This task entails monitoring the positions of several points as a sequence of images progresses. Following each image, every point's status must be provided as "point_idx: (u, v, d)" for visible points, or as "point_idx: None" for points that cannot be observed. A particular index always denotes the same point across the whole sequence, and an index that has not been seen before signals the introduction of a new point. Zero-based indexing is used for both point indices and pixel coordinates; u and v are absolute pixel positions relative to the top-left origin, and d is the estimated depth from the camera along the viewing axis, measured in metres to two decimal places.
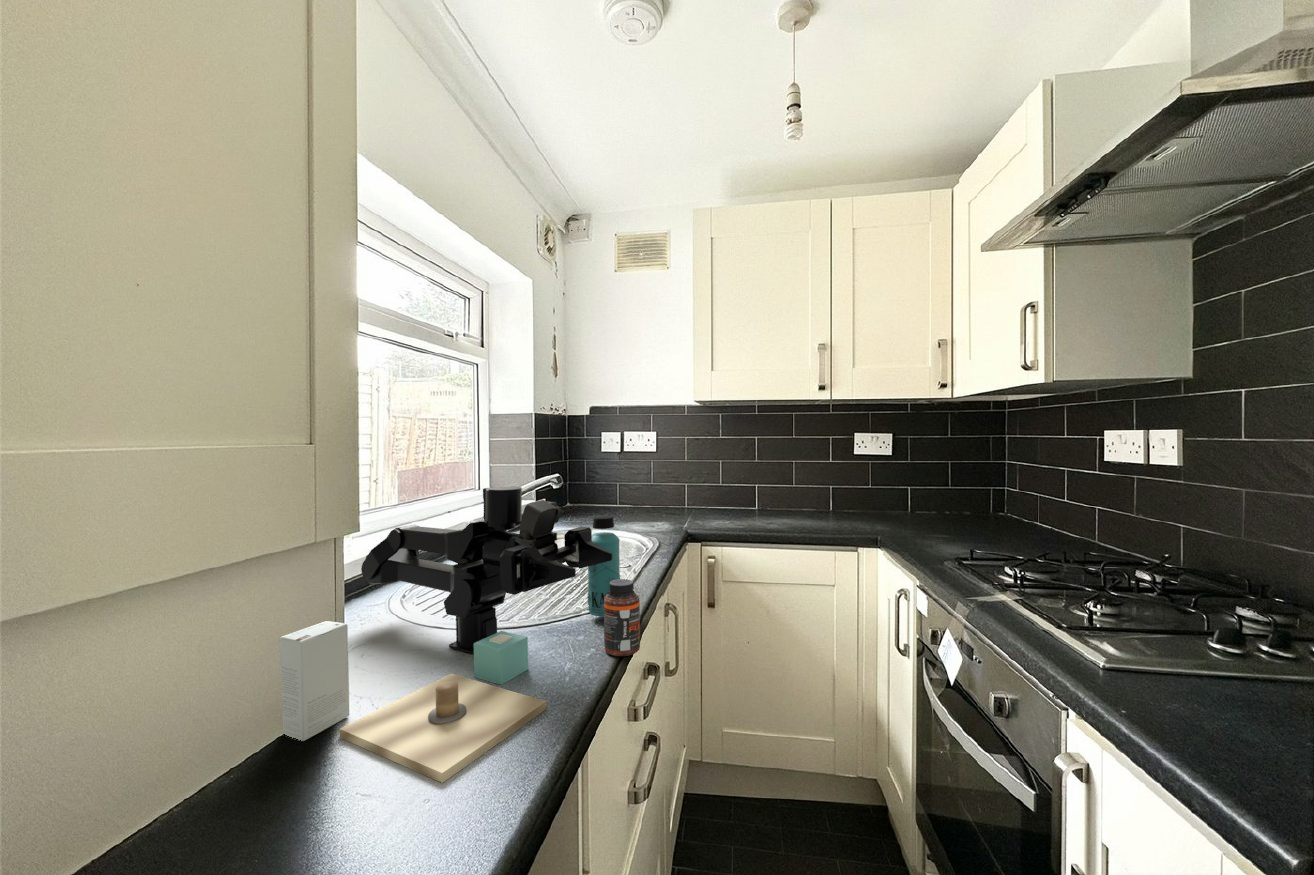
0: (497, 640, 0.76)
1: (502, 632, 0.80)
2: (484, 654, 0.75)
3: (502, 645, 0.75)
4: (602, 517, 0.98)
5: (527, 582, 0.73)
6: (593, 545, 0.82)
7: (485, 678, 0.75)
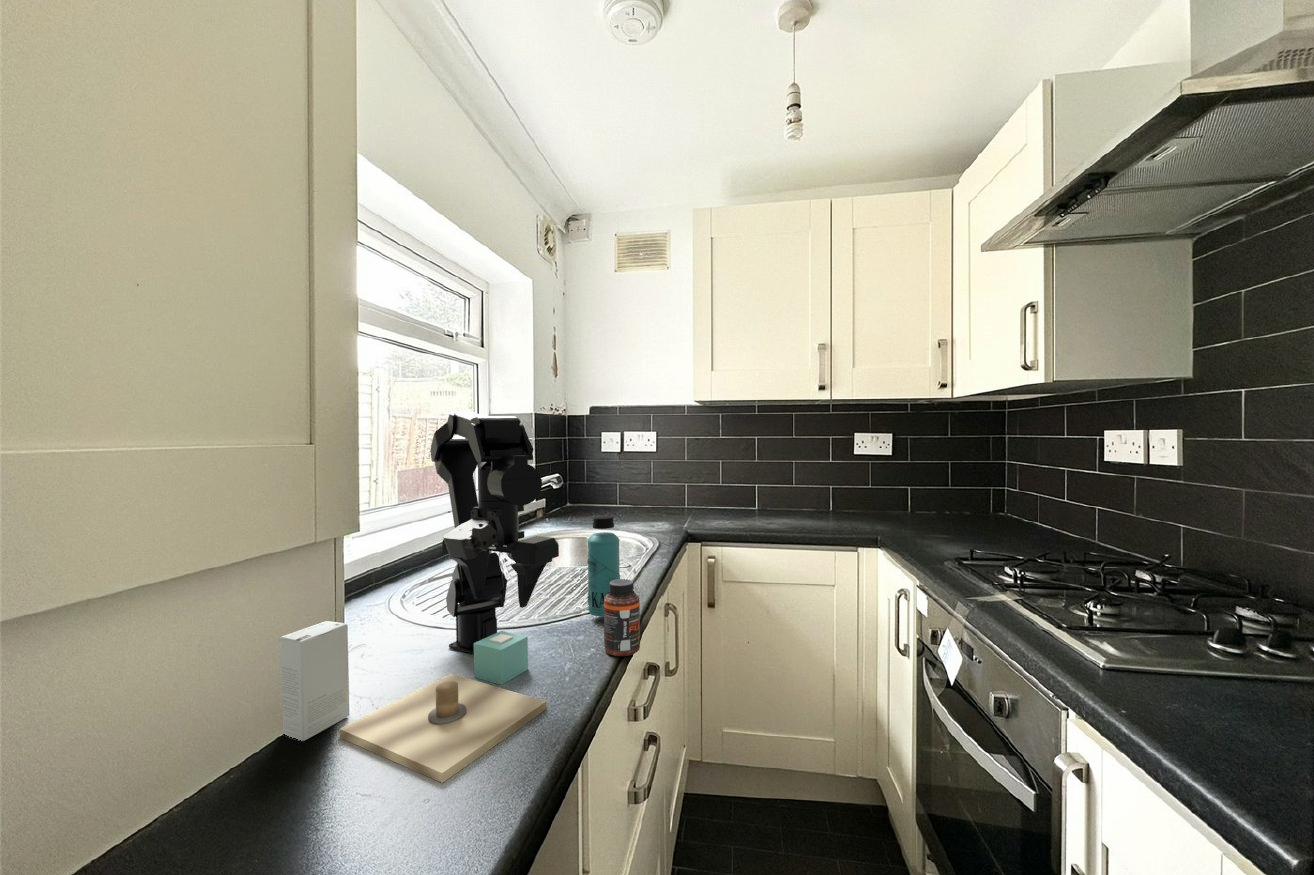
0: (497, 640, 0.76)
1: (502, 632, 0.80)
2: (484, 654, 0.75)
3: (502, 645, 0.75)
4: (602, 517, 0.98)
5: None
6: (519, 583, 0.74)
7: (485, 678, 0.75)
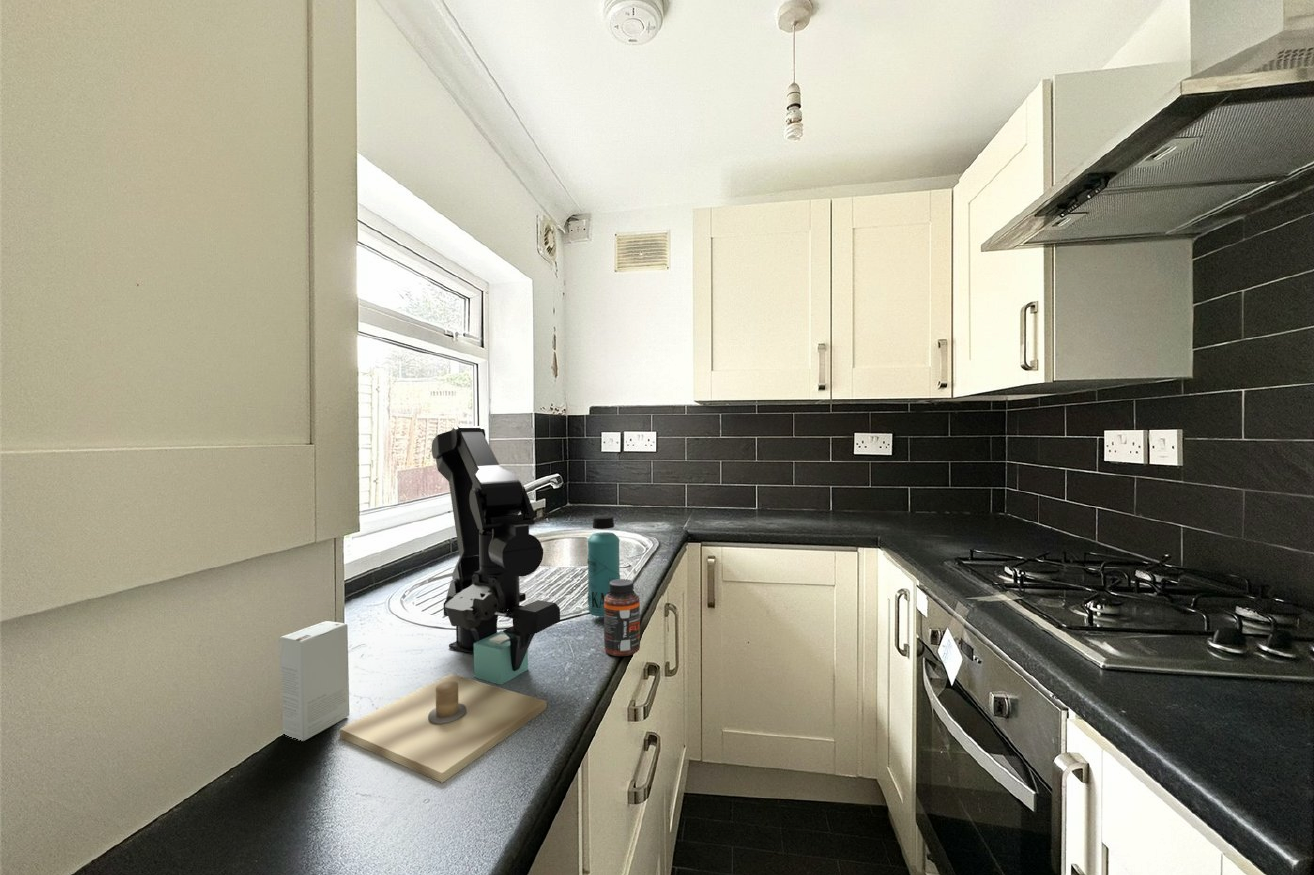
0: (497, 640, 0.76)
1: (502, 632, 0.80)
2: (484, 654, 0.75)
3: (502, 645, 0.75)
4: (602, 517, 0.98)
5: None
6: (511, 647, 0.74)
7: (485, 678, 0.75)
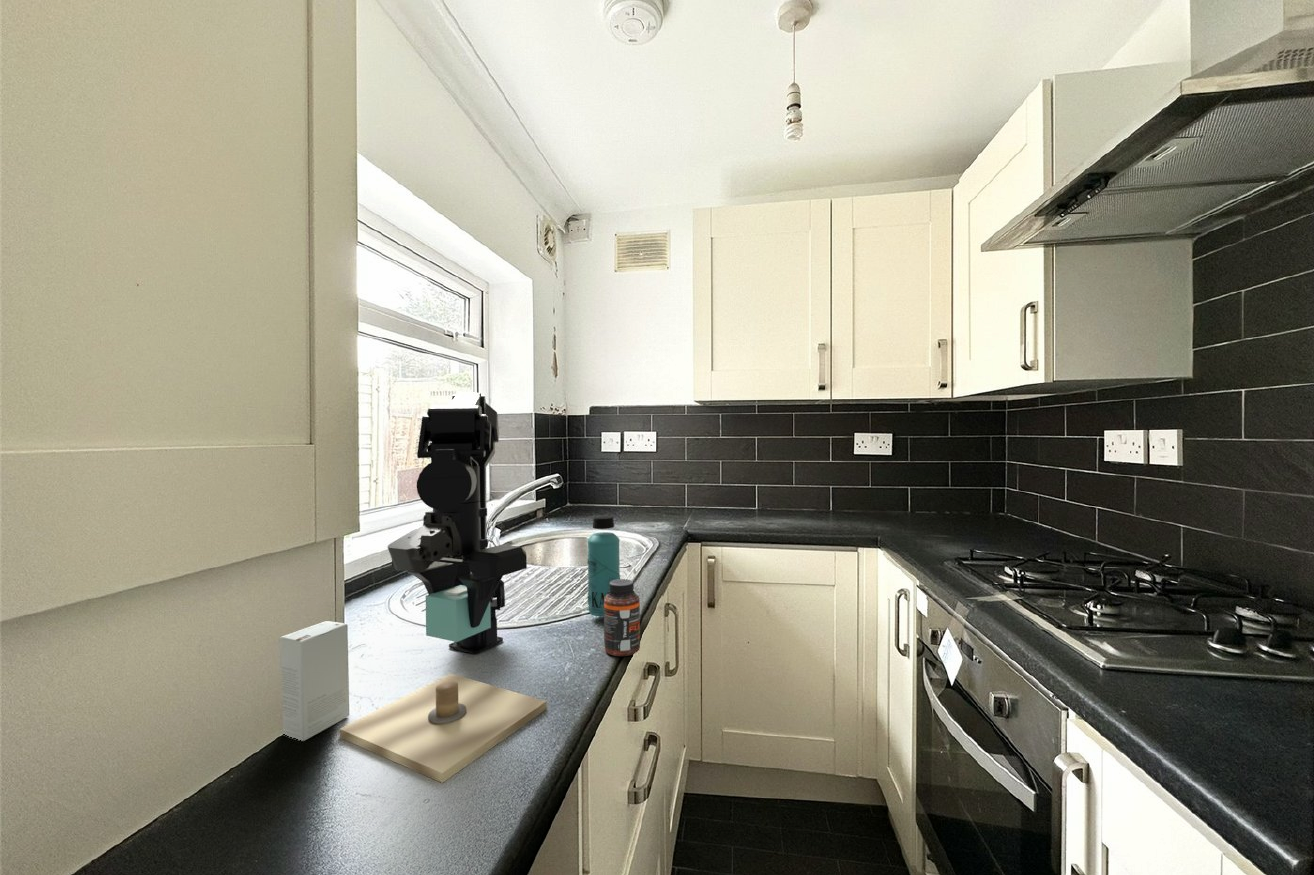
0: (453, 592, 0.65)
1: (461, 586, 0.69)
2: (437, 607, 0.64)
3: (459, 597, 0.64)
4: (602, 517, 0.98)
5: None
6: (469, 599, 0.63)
7: (438, 636, 0.64)
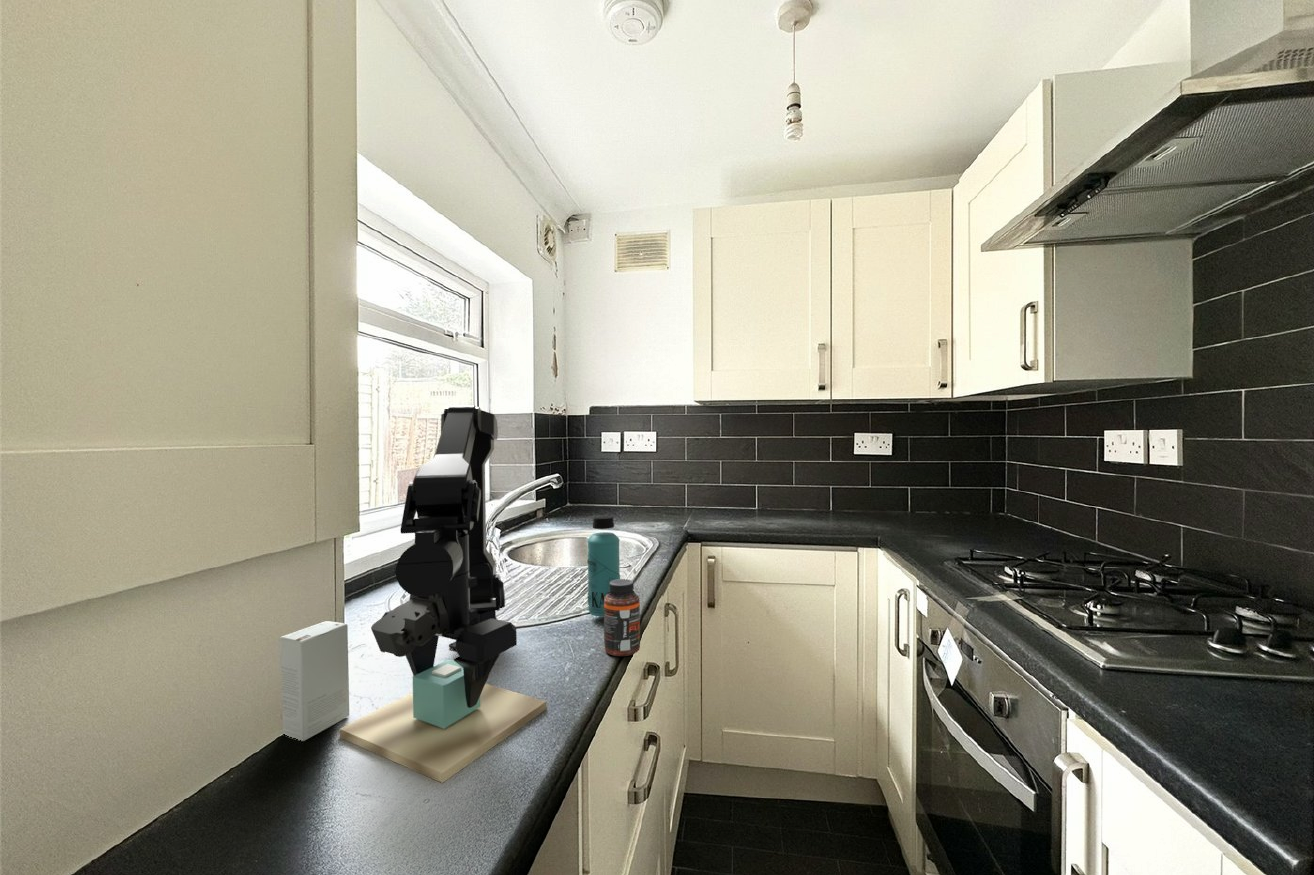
0: (441, 672, 0.63)
1: (450, 661, 0.67)
2: (424, 690, 0.61)
3: (447, 680, 0.61)
4: (602, 517, 0.98)
5: None
6: (465, 679, 0.60)
7: (426, 719, 0.61)
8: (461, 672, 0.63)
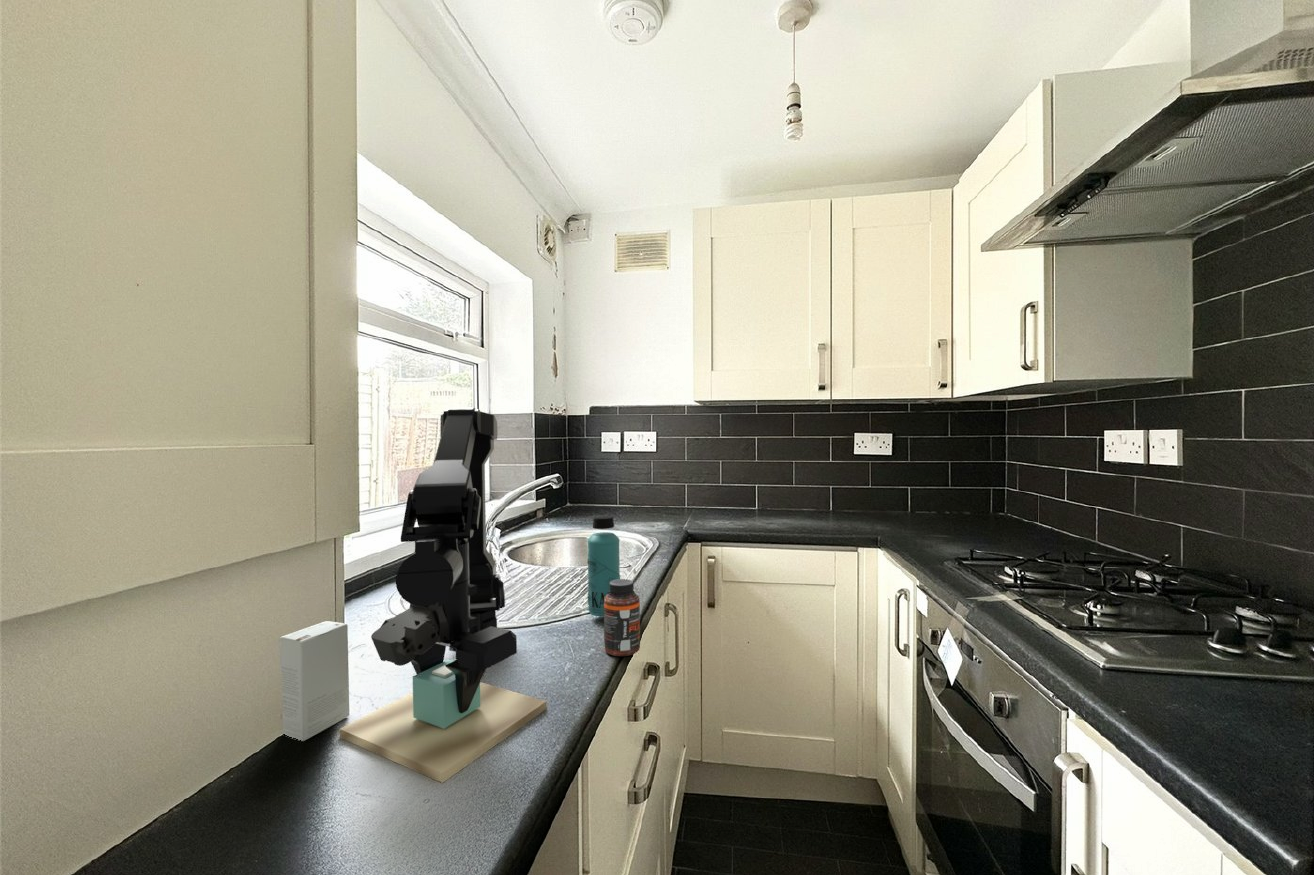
0: (441, 672, 0.63)
1: (450, 661, 0.67)
2: (424, 690, 0.61)
3: (447, 680, 0.61)
4: (602, 517, 0.98)
5: None
6: (457, 685, 0.61)
7: (426, 719, 0.61)
8: None
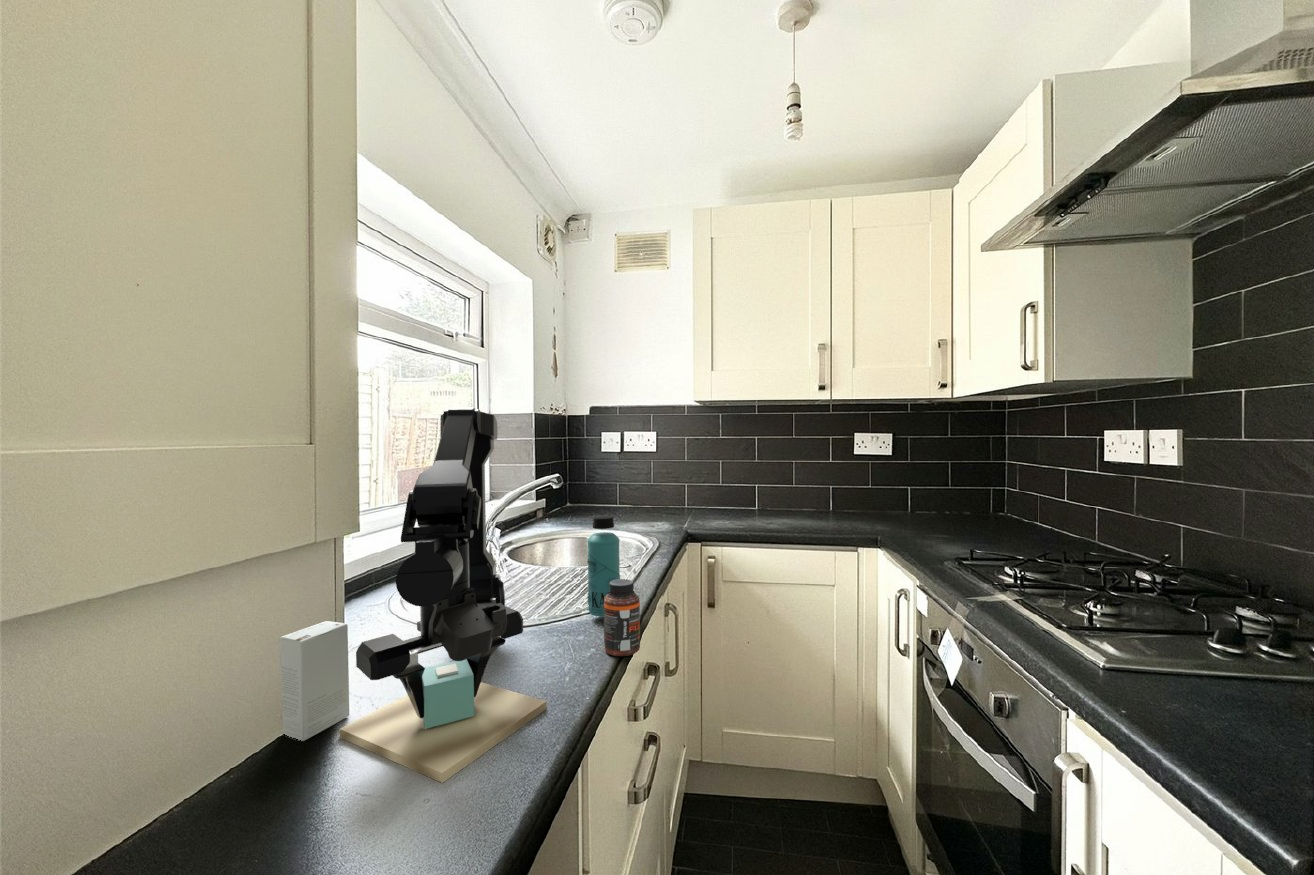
0: (454, 666, 0.64)
1: (427, 682, 0.61)
2: None
3: (457, 663, 0.66)
4: (602, 517, 0.98)
5: None
6: (480, 668, 0.66)
7: None
8: (439, 667, 0.65)
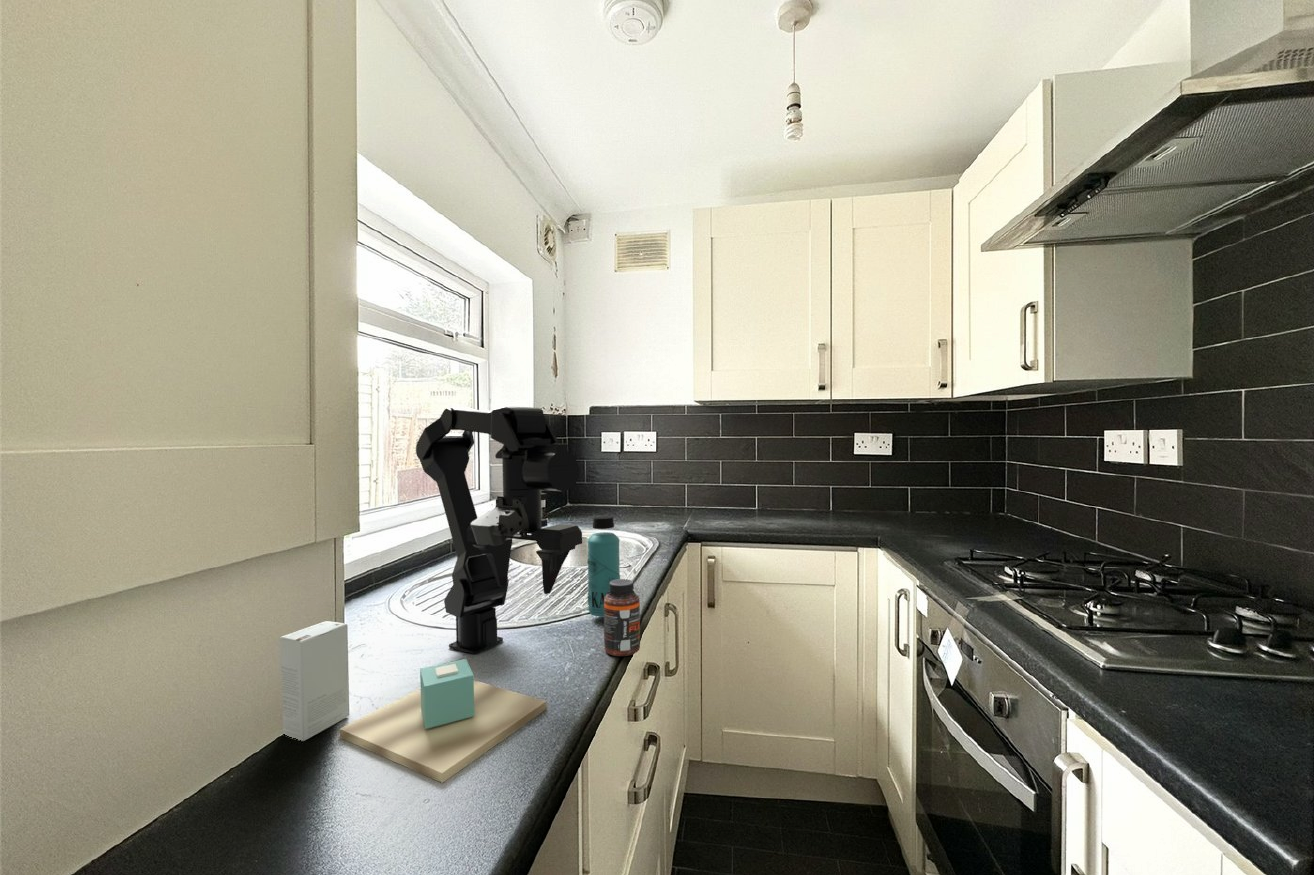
0: (454, 666, 0.64)
1: (427, 683, 0.61)
2: None
3: (457, 663, 0.66)
4: (602, 517, 0.98)
5: None
6: (543, 569, 0.75)
7: None
8: (438, 667, 0.65)
